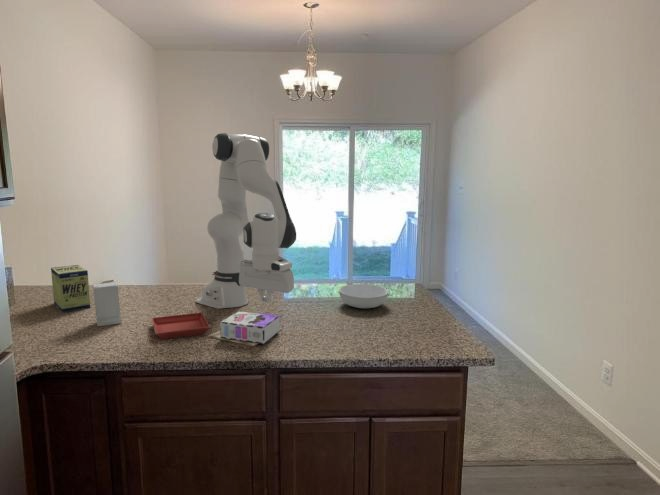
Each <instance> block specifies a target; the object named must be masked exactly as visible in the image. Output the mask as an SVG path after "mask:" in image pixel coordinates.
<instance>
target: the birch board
mask: <svg viewBox="0 0 660 495" xmlns="http://www.w3.org/2000/svg"><path fill="white" fill-rule="evenodd" d="M282 330H283V328H282V327H280V331H282ZM209 337H210V338H213V339H218V340H222V341H227V342H232V343H237V344H240V345H246V346H251V347H255V346H257V345H258V344H259V343H255V342H247V341H240V340H233V339H225V338H220V330H218V331H216V332H214V333H211V334H210V335H209Z"/></svg>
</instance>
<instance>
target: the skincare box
mask: <svg viewBox="0 0 660 495" xmlns="http://www.w3.org/2000/svg"><path fill="white" fill-rule="evenodd" d="M92 290H93V297H94V298H93V299H94V308H95V316H96V325H97V327H104V326H112V325H117V324H122V317H121V315H122V314H121V308H120V306H121V305H120V296H119V284H118V282H117V281H111V282H106V283H105V282H104V283H95V284H93V289H92Z"/></svg>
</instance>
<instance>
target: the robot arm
mask: <svg viewBox="0 0 660 495" xmlns="http://www.w3.org/2000/svg"><path fill="white" fill-rule="evenodd" d="M211 149H212V153H213V156H214V157H215V158H216V160H219V161H221V162H220V166H219V176H218V191H217V192H218V193H217V196H218V199H219V201H220V203H221V209H222V213H218V214H216V215H214V216H213V217H212V218H211V219H210V220H209V221H208V223H207V228H206V230H207V232H208V234H209V236H210V238H212V240H213V243H214V246H215V247H214V248H215V250H216V251H215V252H216V259H217V260H216V263H217V265H216V266H217V268H216V271H214V272H212V276H214V278H213V279H212V280H211V281H210V282H208V283H207V284H206V285H204V287H202V291H201V296H200V297H198V298H196V299H195V300H196V301H195V303H196V304H197V303H198V304H200V305H203V306H207V307H210V308H214V309H225V308H226V309H227V308H239V307H244V306H245V305H247V304H249V300H248V296H247V291H246V288H250V289H257V293H258V295H259V296H260V302H261V303H262V302H263V303H267V304H268V303H271V301H272V296H273V294H274V293H275V292H277V293H284V294H288V293H291V292H292V291H293V290H294V288H295V281H294V280H295V279H294V278H295V277H294V272H293V271H292V269H291V268H292V267H293V262H291V261H289V260H288V259H285V258H284V257H281V256H280V253H279V249H289V248H290V247H291V246H293V245H294V243H295V242H296V241H297V232H296V227H295V225H294V223H293V220H292V217H291V214H290V212H289V210H288V207H287V203H286V200H285V197H284V194H283V192H282V188H281V186H280V184H279V182H278V180H276V179H275V178H273V177H272V176H271V174H270V172H269V170H268V166H267V160H268V158H269V157H270V156H269V155H270V144H269V142H268V141H267V139H266V138H264V137H261V136H255V135H250V134H244V133H242V134H239V133H227V132H221V133H217V134H216V136H214V139H213V142H212V146H211ZM247 192H250V193H253V194H256V195H258V196H261V197H264V198H265V199H267V200H269V201H270V202H271V205H272V207H273V210H274V213H275V214H273V213H268V212H259V213H257V214H255V215H253V217H252V221H251V220H250V216H249V214H248V209H247V201H246V200H247V199H246V198H247V197H246V195H247V194H246V193H247ZM241 236H243V243H244V244H245V245H246V246H247V247H249V248H251V249H252V254H251V260H249V259H245V254H244V251H243V249H242V247H241V244H240V239H239V237H241ZM264 291H266V293H267V295H266V294H265V292H264Z"/></svg>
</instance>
